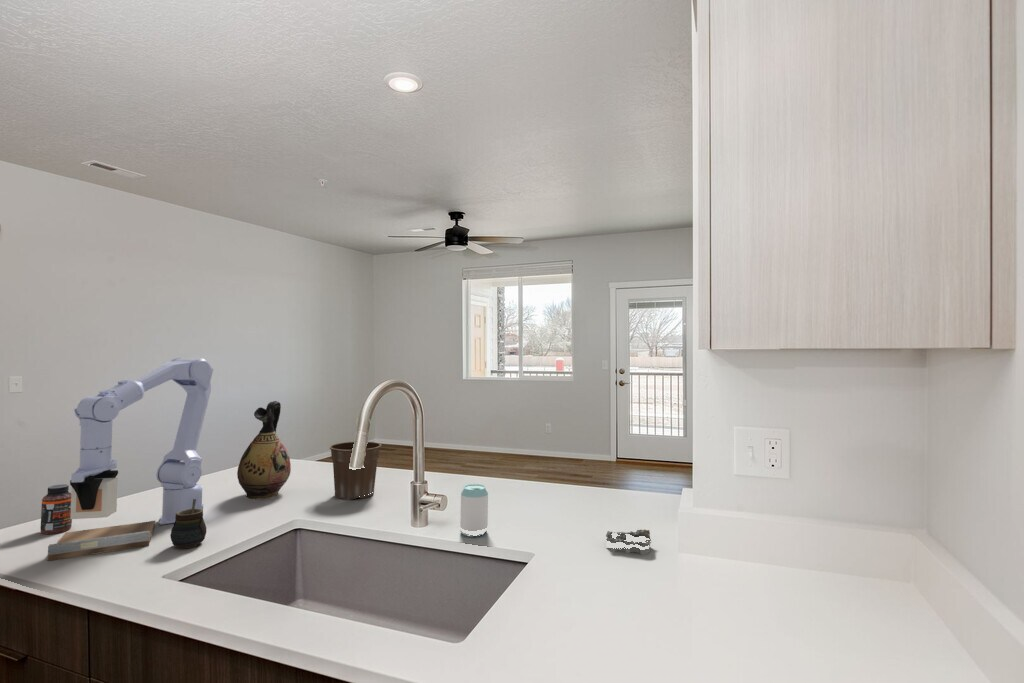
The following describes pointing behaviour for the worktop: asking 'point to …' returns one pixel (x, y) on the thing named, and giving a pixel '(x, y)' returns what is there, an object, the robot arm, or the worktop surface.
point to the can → (474, 508)
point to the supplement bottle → (56, 510)
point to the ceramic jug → (265, 458)
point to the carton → (97, 501)
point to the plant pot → (354, 471)
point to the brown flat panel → (104, 533)
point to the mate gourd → (188, 528)
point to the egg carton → (635, 534)
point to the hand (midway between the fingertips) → (94, 506)
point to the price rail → (98, 542)
